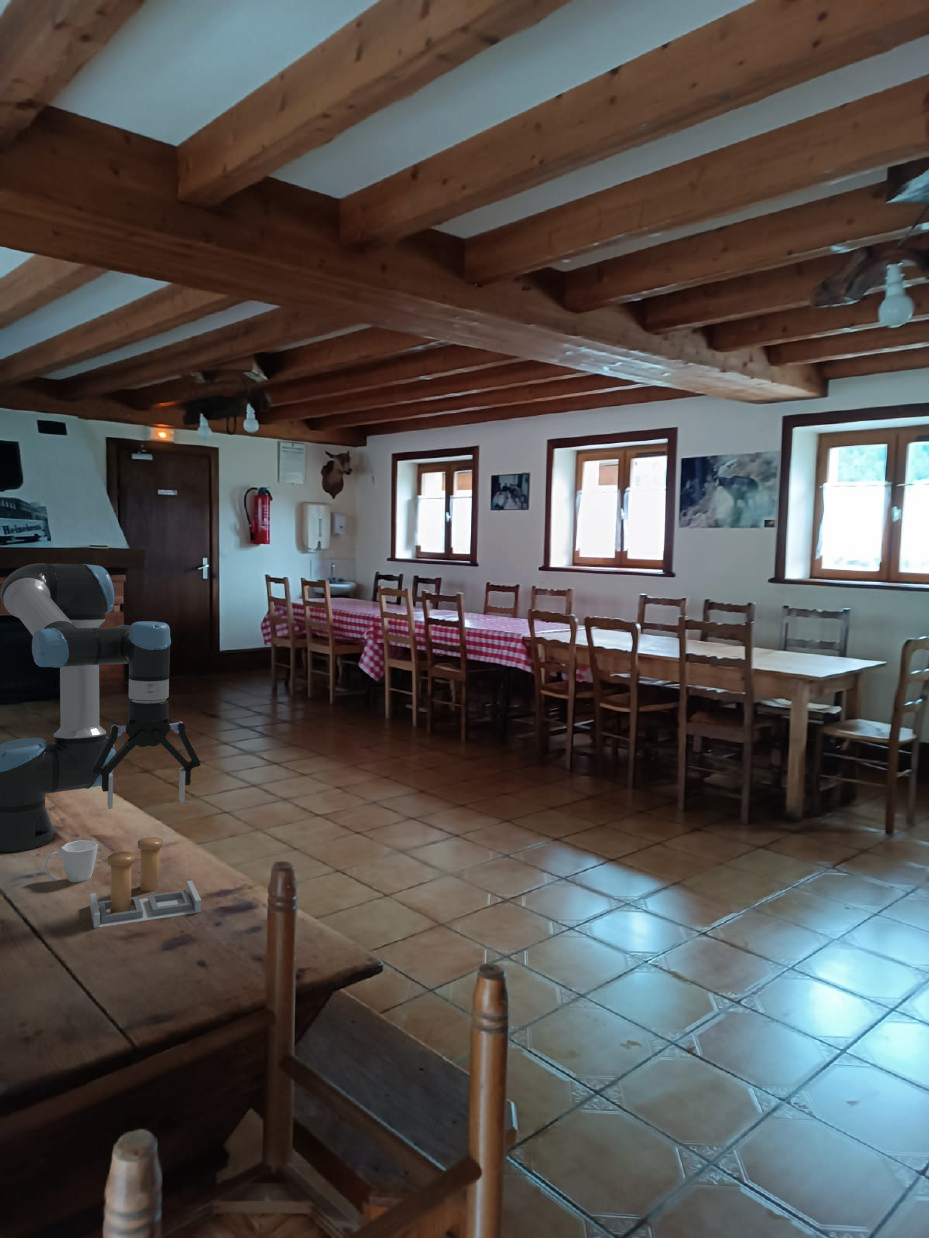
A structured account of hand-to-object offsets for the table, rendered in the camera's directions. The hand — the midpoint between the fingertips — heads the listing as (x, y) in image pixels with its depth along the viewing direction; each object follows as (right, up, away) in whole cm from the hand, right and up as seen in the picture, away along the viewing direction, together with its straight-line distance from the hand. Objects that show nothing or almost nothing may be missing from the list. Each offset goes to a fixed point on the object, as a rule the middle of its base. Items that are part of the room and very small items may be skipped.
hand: (146, 803), depth 171 cm
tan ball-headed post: (-1, -19, +3) cm, 19 cm away
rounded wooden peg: (-2, -19, -9) cm, 21 cm away
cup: (-18, -18, +5) cm, 26 cm away
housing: (+2, -20, -7) cm, 21 cm away
